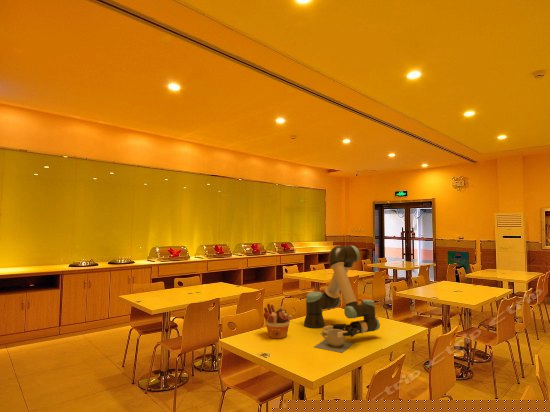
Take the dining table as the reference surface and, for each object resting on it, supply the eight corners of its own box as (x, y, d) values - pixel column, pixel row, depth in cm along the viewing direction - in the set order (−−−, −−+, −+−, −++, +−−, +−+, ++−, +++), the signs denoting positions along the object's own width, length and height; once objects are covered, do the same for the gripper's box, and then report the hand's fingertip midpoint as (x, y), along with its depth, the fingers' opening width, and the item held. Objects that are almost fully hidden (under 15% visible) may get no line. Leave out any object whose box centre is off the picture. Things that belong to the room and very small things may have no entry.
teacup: (348, 344, 204) (347, 330, 204) (340, 349, 195) (339, 335, 196) (327, 340, 212) (327, 327, 213) (319, 344, 204) (318, 331, 204)
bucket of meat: (296, 336, 220) (296, 305, 222) (277, 342, 209) (277, 309, 211) (276, 330, 235) (276, 301, 237) (257, 335, 224) (257, 304, 226)
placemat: (313, 347, 200) (313, 346, 200) (327, 338, 217) (327, 337, 217) (342, 353, 190) (342, 352, 190) (354, 342, 207) (354, 342, 207)
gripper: (372, 338, 201) (344, 344, 192) (345, 328, 223) (319, 333, 214) (372, 325, 202) (343, 331, 192) (345, 316, 224) (318, 320, 214)
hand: (330, 332), depth 203 cm, fingers open, 13 cm apart
